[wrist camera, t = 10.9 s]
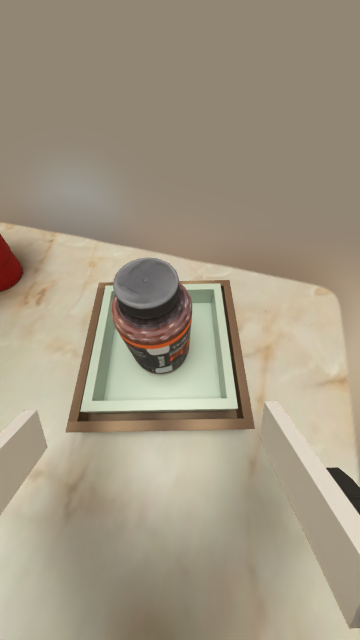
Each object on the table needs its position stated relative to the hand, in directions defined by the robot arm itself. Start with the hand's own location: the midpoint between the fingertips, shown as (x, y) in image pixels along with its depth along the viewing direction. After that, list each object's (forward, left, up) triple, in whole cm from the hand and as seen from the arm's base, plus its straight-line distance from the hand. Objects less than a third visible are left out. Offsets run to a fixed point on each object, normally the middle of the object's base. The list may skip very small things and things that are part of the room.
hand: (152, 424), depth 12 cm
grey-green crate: (0, +8, -8) cm, 11 cm away
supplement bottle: (0, +7, -8) cm, 11 cm away
